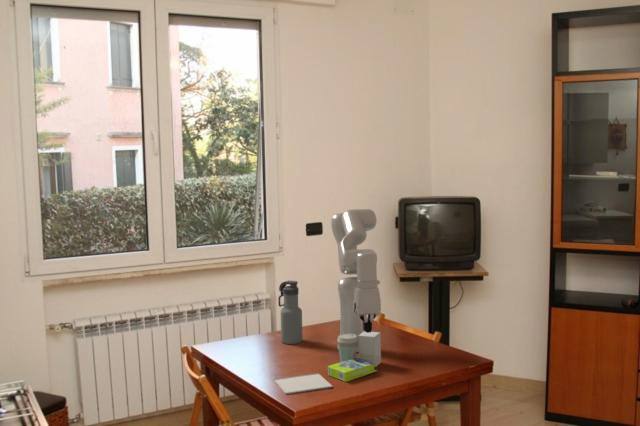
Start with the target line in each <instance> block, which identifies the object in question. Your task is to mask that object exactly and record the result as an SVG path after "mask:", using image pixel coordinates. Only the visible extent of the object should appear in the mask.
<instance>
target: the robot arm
mask: <svg viewBox="0 0 640 426" xmlns="http://www.w3.org/2000/svg"><path fill="white" fill-rule="evenodd" d="M330 223H331V230H332V234H333V237H334V239H335V241H336V244H337V253H338V254H337V255H338V265H339V270H340V273H341V274H343V275H346V276H347V275H350V276H349V277H344V278H341V279H340V280H339V281H338V283H337V292H338V298H339V314H340V315H339V317H340V319H339V320H340V323H339V324H340V326H339V327H340V333H339V334H340V335H341V334H355V335H356V336H357V338H358V335H360V334H361V333H362V332H364V331H365V332H367V333H369V332H372V330H373V322H374V320H375V319H376V317H380V316H381V314H382V313H381V311H382V304H381V303H382V302H381V301H382V300H381V294H380V290H379V285H380V284H381V281H380V280H378V277H377V276H378V275H377V274H378V271H377V269H378V267H377V263H378V254H377V253H376V252H375V251H374V250H373V249H368V248H366V249H361V248H360V249H358V246H360V245H361V244H363V243H364V242H365V241H366V239H367V235H368V234H367V232H369V231H372V230H373V229H374V228H375V227H376V226H377V216H376V213H375V212H374V210H373V209H370V208H356V209H349V210H348V209H347V210H346V211H344V212H340V213H339V212H338V213H336V214H334V215H333V216H332V217H331V221H330ZM375 229H376V228H375ZM351 275H356V276H352V277H351ZM336 348H337V350H338V351H339V347H338V344H337V345H336ZM356 353H359V352H358V342H357V351H356Z"/></svg>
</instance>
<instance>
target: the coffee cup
mask: <svg viewBox="0 0 640 426" xmlns="http://www.w3.org/2000/svg"><path fill="white" fill-rule="evenodd" d="M336 340H337V345H338V347H339V350H338V353H339V363H340V362H343V361H347V360H350V359H354V358H357V352H356V351H357V342H358V338H357V336H356V335H355V334H341V333H340V334H339V335H338V337H337V339H336Z"/></svg>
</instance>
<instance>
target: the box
mask: <svg viewBox="0 0 640 426" xmlns="http://www.w3.org/2000/svg"><path fill="white" fill-rule="evenodd" d="M376 372H378V370H377V369H375V367H374V363H371V362H368V361H365V360H362V359H359V357H356V358H354V359H350V360H347V361H343V362H340V361H339V362H337V363H333V364H330V365H327V375H328V376H329V377H332V378H335V379H337V380H340V381H342V382H345V383H347V382H349V381H353V380H355V379H358V378H362V377H364V376H367V375H369V374H373V373H376Z"/></svg>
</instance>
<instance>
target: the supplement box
mask: <svg viewBox="0 0 640 426" xmlns="http://www.w3.org/2000/svg"><path fill="white" fill-rule="evenodd" d="M381 341H382V340H381V332H379V331H378V332H377V331H371V332H369V333H367V332H365V331H364V330H363V331H362V333H361V334H360V335H358V352H357V353H358V358H359V359H362V360H365V361H368V362H371V363H374V368H376V367H378V365H380V364H381V362H382V351H381V350H382V343H381Z"/></svg>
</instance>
